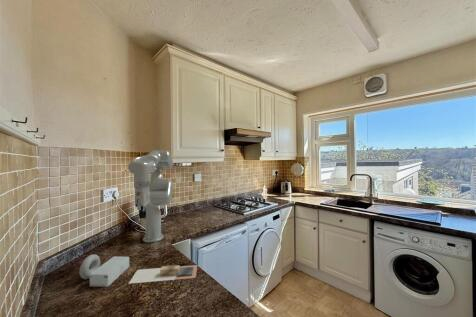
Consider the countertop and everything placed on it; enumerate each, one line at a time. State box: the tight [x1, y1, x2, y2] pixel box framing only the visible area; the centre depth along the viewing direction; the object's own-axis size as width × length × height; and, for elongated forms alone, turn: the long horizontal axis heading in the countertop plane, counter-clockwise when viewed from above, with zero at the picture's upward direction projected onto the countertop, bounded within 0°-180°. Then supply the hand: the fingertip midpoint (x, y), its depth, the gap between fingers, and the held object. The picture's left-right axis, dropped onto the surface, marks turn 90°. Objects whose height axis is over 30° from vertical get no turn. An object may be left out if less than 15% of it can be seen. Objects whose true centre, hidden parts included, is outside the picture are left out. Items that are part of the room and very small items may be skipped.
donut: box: [79, 254, 101, 280], centre depth 88 cm, size 10×4×10 cm, turn 178°
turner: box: [160, 264, 194, 277], centre depth 89 cm, size 14×6×3 cm, turn 97°
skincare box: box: [89, 256, 130, 288], centre depth 87 cm, size 8×6×15 cm
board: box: [128, 264, 198, 285], centre depth 88 cm, size 10×28×1 cm, turn 97°
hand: (142, 217), depth 105 cm, fingers closed
